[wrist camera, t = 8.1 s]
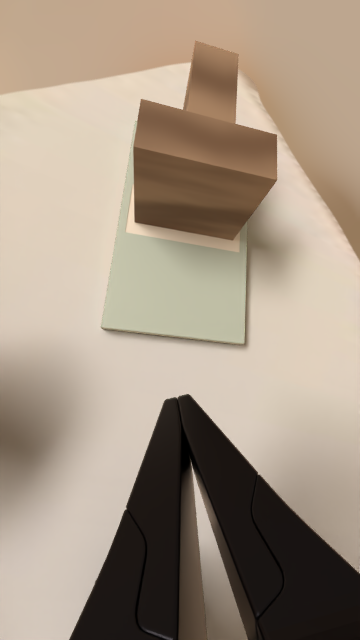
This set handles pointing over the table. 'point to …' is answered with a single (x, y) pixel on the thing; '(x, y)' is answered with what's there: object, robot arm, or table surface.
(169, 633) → the robot arm
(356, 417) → the table surface
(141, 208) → the t block
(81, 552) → the table surface
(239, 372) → the table surface
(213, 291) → the board
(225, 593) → the table surface
